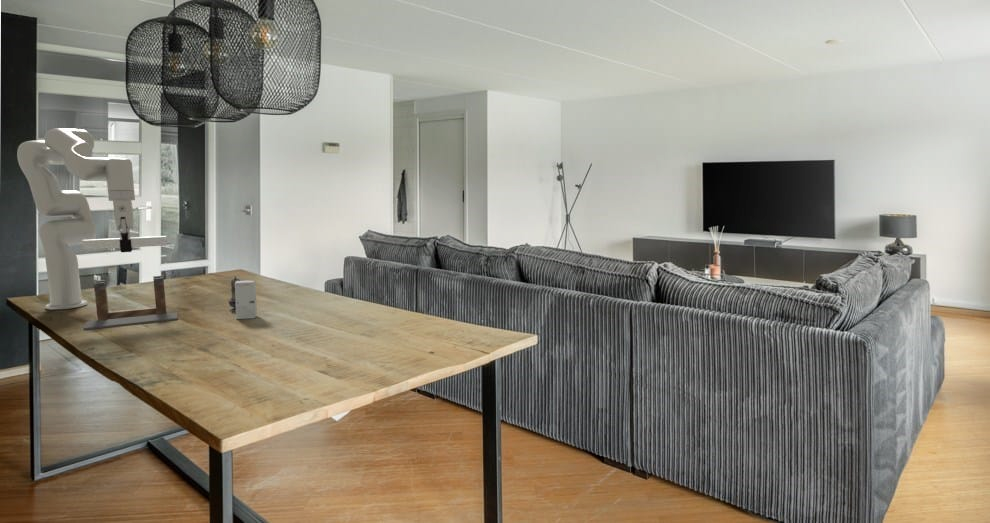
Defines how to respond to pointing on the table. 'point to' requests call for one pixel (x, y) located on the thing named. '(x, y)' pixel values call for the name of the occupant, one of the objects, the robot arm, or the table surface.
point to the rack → (159, 309)
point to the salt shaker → (233, 295)
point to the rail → (116, 242)
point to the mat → (130, 321)
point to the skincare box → (245, 299)
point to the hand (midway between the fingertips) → (126, 250)
